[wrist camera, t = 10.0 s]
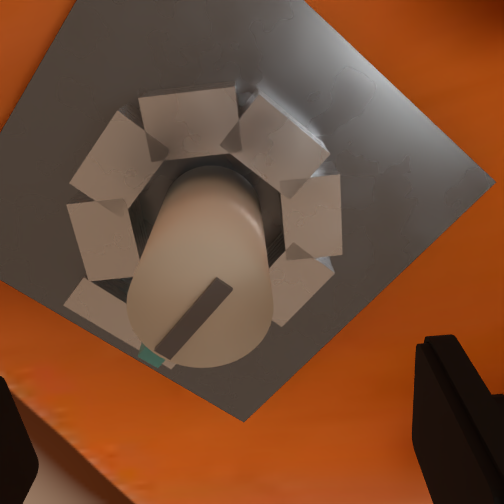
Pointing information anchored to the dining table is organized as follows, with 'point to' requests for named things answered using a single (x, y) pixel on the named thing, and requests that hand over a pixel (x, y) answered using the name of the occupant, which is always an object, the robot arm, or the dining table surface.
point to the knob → (203, 274)
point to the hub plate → (225, 155)
